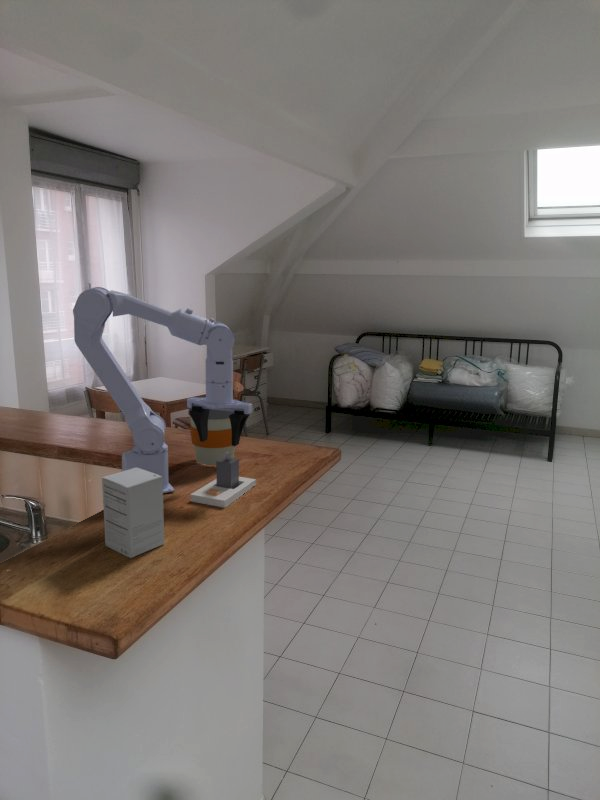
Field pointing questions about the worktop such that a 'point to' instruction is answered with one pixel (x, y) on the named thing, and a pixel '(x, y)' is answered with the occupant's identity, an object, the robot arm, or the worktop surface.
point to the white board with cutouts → (221, 493)
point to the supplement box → (133, 511)
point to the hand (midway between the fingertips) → (219, 442)
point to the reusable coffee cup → (213, 437)
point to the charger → (227, 472)
